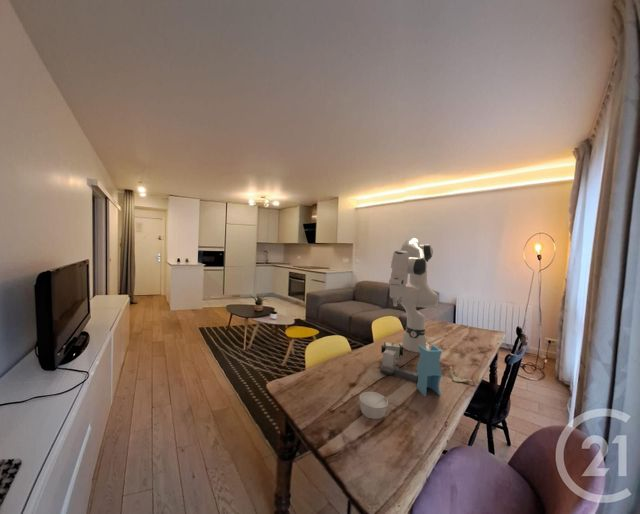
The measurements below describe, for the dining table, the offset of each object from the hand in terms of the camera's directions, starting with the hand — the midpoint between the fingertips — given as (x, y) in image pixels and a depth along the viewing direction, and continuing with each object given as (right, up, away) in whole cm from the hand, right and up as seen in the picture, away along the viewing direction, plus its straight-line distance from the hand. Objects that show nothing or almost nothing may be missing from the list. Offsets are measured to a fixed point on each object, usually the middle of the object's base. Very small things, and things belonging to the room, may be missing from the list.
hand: (397, 304), depth 148 cm
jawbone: (+31, -37, -7) cm, 49 cm away
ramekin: (-22, -35, -43) cm, 59 cm away
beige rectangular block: (-7, -31, -7) cm, 32 cm away
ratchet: (0, -35, -12) cm, 36 cm away
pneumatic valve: (-2, -34, +4) cm, 34 cm away
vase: (+7, -36, -24) cm, 44 cm away
